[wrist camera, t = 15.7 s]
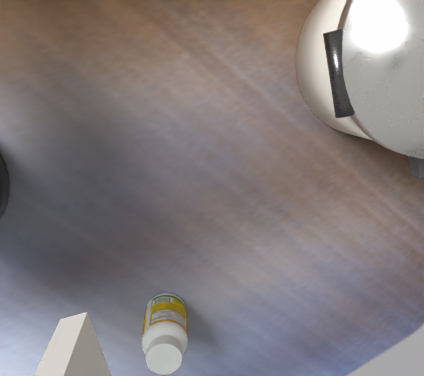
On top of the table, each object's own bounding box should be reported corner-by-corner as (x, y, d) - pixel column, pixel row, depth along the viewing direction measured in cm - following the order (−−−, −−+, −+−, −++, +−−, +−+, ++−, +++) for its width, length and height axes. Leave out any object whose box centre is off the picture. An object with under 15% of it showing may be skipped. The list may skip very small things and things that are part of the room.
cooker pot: (313, 172, 48) (358, 199, 37) (277, -34, 42) (318, -80, 30) (449, 136, 49) (536, 152, 37) (434, -72, 43) (534, -131, 31)
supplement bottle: (163, 284, 50) (161, 328, 41) (194, 307, 52) (199, 355, 42) (136, 313, 51) (128, 363, 42) (167, 335, 52) (167, 388, 43)
